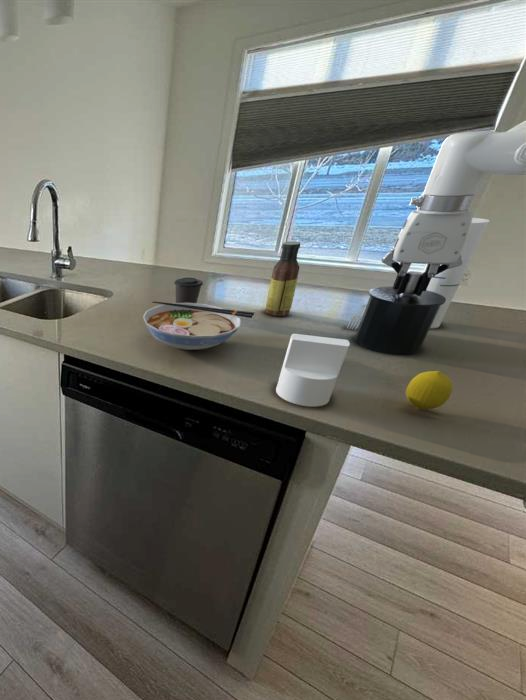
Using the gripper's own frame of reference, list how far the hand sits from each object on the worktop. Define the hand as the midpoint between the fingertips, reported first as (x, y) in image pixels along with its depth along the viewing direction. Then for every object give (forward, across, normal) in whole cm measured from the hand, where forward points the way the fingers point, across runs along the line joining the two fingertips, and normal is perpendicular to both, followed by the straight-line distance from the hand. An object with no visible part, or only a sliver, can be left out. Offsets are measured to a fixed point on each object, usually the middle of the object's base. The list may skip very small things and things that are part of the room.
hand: (407, 292), depth 90 cm
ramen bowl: (+13, -42, -16) cm, 47 cm away
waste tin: (+13, 0, 0) cm, 13 cm away
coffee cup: (+13, -47, +8) cm, 49 cm away
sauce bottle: (+13, -23, +14) cm, 30 cm away
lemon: (+13, +1, -30) cm, 33 cm away
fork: (+13, -3, +17) cm, 21 cm away
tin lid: (+1, 0, 0) cm, 1 cm away
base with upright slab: (+13, -17, -32) cm, 38 cm away
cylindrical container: (+13, +9, +17) cm, 23 cm away
